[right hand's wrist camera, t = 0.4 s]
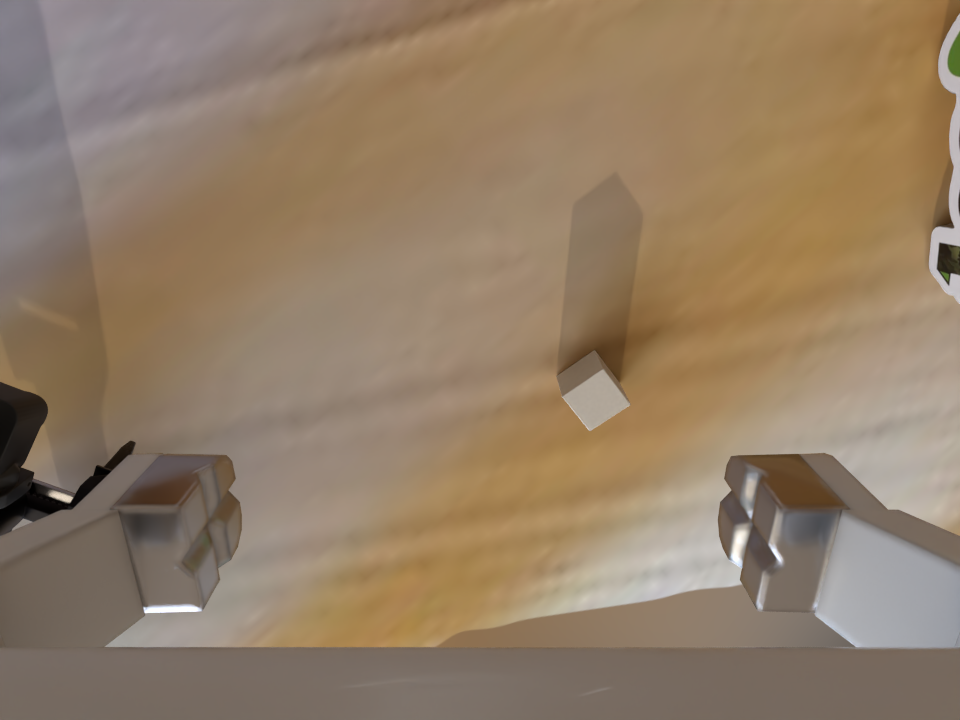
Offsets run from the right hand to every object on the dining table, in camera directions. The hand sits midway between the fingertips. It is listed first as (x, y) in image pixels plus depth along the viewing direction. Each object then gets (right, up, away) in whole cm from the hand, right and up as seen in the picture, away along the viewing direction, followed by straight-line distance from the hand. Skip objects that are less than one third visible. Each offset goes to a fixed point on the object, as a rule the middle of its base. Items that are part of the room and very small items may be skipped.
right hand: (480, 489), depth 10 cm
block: (+10, 0, +50) cm, 51 cm away
